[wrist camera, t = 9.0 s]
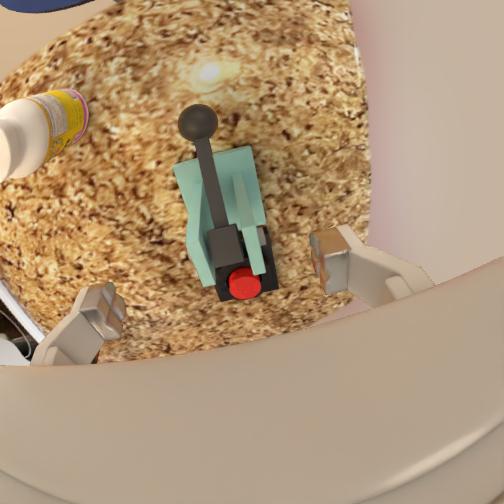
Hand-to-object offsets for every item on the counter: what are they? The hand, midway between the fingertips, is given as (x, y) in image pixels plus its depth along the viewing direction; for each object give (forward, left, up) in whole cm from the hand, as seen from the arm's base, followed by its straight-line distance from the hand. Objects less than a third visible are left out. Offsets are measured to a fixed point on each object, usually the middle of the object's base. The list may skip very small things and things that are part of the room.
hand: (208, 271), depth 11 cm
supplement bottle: (-9, -14, -20) cm, 26 cm away
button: (+15, 0, -17) cm, 23 cm away
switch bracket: (+5, 0, -20) cm, 20 cm away
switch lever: (+2, 0, -13) cm, 14 cm away
